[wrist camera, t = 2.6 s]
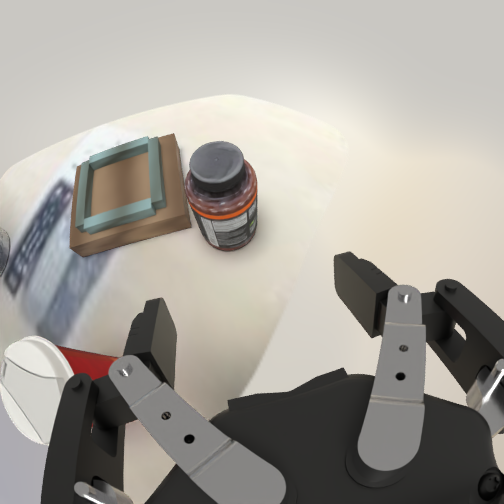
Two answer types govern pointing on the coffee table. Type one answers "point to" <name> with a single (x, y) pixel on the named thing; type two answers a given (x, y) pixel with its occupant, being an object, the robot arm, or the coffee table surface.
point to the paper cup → (42, 382)
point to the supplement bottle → (222, 195)
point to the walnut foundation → (128, 195)
